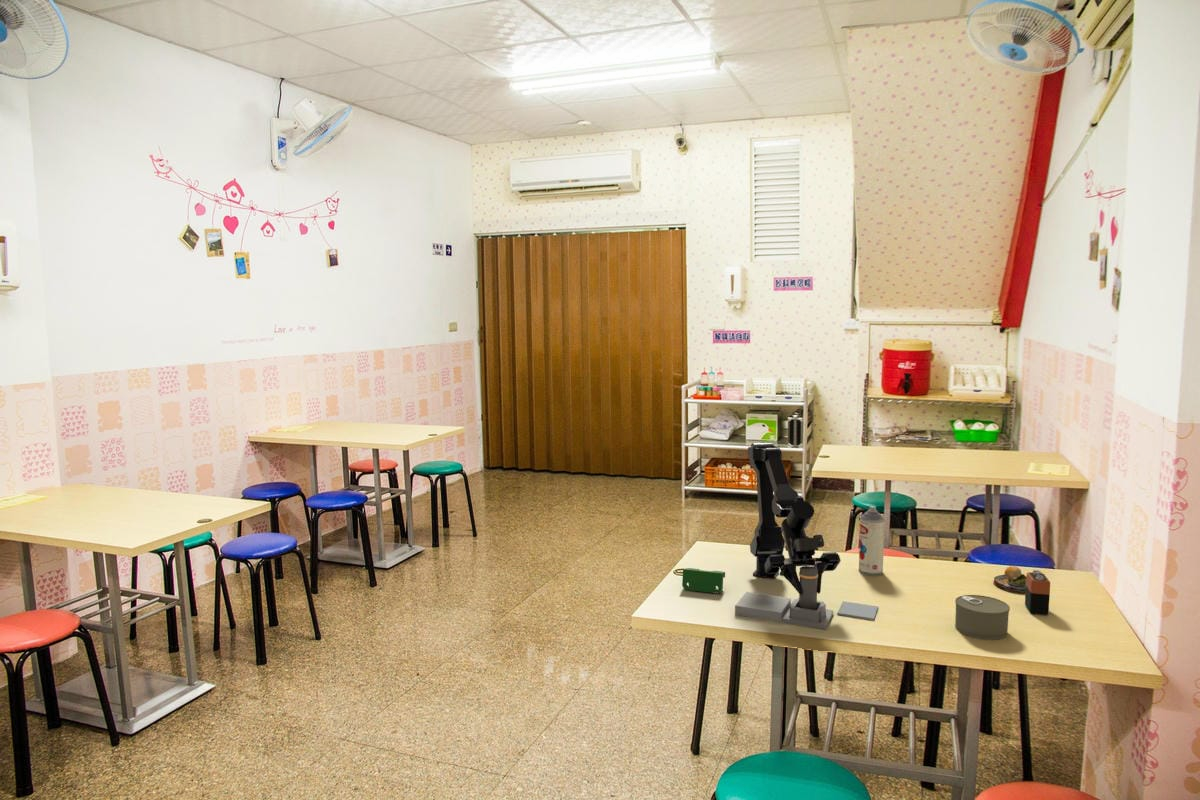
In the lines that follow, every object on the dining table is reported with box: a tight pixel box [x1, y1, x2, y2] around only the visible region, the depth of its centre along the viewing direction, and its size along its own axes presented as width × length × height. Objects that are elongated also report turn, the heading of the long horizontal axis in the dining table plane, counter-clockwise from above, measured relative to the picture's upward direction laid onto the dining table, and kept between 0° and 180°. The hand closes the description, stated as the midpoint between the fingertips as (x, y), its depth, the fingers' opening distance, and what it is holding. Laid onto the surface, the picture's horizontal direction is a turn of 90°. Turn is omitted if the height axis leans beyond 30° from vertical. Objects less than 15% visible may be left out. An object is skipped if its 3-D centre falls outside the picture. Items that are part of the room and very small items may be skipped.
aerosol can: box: [858, 505, 885, 577], centre depth 236 cm, size 7×7×20 cm
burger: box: [993, 562, 1026, 595], centre depth 224 cm, size 12×12×8 cm
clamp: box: [681, 567, 726, 594], centre depth 224 cm, size 12×6×9 cm, turn 64°
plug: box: [798, 566, 818, 610], centre depth 202 cm, size 5×5×13 cm
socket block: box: [734, 591, 834, 630], centre depth 205 cm, size 11×23×4 cm, turn 64°
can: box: [954, 594, 1011, 641], centre depth 194 cm, size 12×12×7 cm
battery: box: [1024, 569, 1051, 616], centre depth 206 cm, size 4×7×10 cm, turn 163°
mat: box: [836, 601, 879, 621], centre depth 207 cm, size 9×9×1 cm
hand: (810, 593), depth 200 cm, fingers closed on plug, 4 cm apart
